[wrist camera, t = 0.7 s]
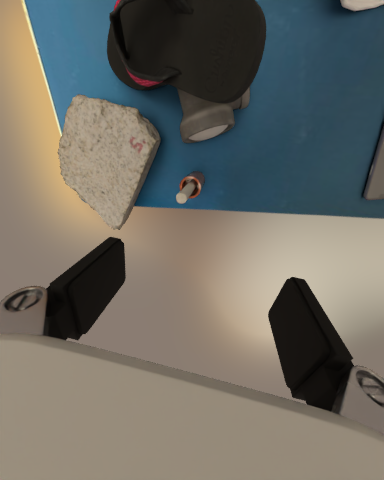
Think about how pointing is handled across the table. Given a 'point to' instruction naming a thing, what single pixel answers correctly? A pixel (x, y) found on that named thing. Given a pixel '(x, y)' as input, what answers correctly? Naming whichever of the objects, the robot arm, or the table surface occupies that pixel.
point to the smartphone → (376, 174)
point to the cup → (361, 4)
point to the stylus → (186, 192)
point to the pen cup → (197, 177)
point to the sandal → (188, 45)
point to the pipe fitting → (207, 116)
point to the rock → (106, 155)
